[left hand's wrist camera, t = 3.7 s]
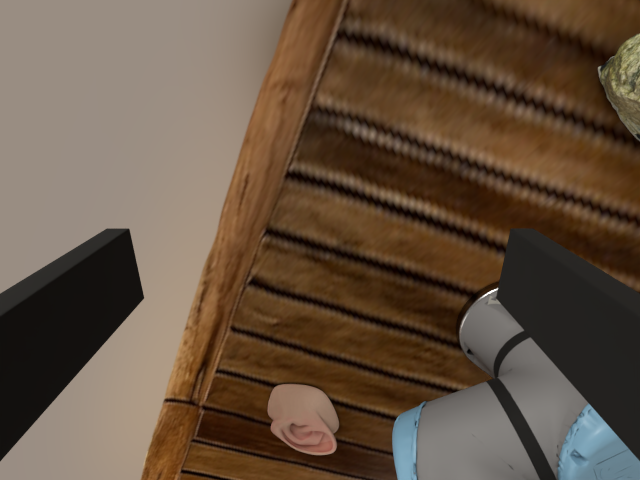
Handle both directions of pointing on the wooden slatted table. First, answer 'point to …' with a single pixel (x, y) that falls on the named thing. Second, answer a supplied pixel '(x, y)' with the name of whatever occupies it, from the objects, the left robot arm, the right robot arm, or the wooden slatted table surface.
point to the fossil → (624, 83)
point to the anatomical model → (303, 418)
